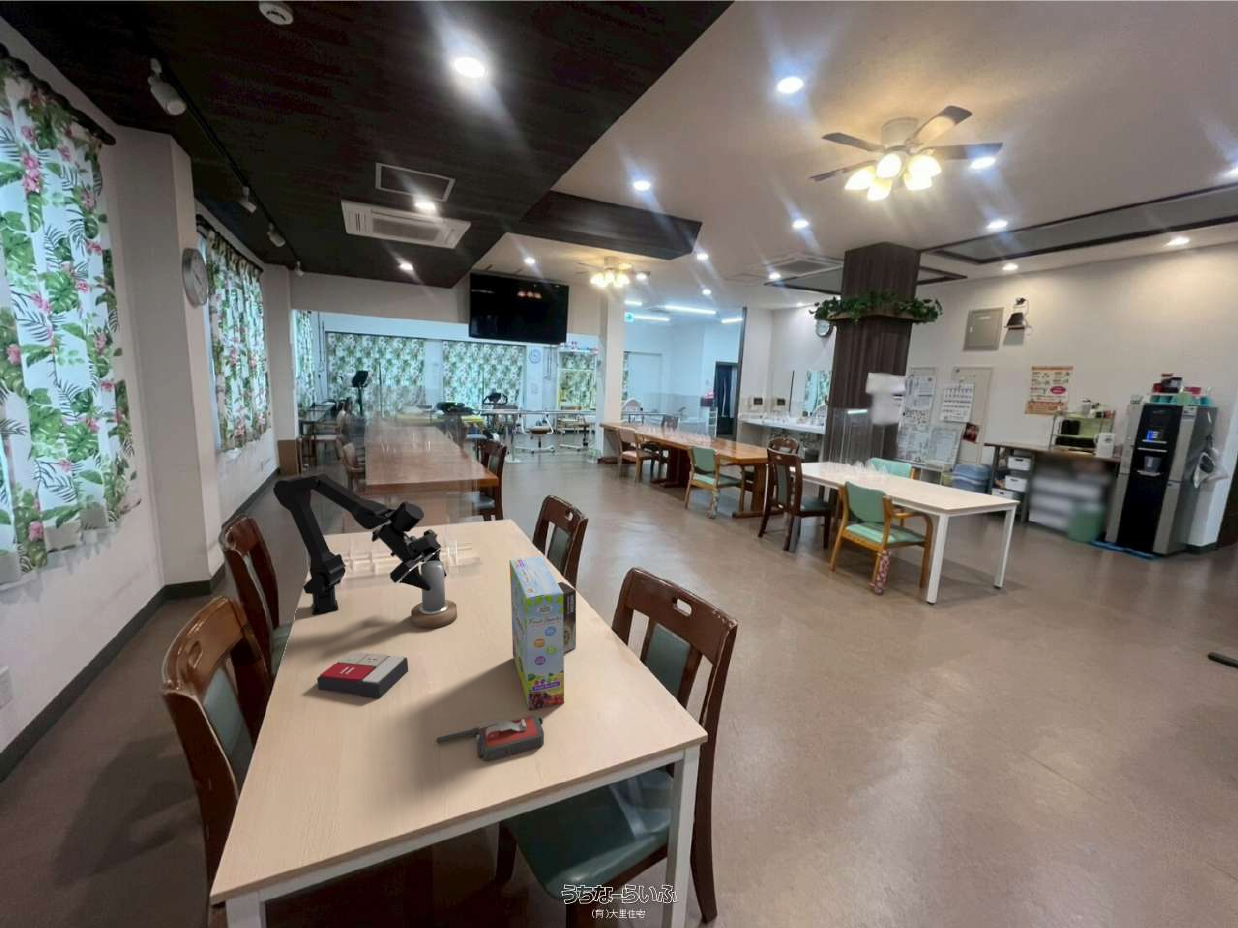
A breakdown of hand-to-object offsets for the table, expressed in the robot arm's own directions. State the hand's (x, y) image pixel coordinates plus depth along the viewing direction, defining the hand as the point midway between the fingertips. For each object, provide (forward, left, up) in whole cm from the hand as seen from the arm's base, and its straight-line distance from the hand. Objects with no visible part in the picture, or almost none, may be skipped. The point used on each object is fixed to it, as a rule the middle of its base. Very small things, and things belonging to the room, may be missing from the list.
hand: (437, 582), depth 143 cm
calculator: (+21, -21, -11) cm, 32 cm away
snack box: (+40, +12, -11) cm, 43 cm away
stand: (-1, -1, -11) cm, 11 cm away
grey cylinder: (-1, -1, -8) cm, 8 cm away
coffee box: (+30, +21, -11) cm, 39 cm away
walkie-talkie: (+55, -3, -11) cm, 56 cm away
